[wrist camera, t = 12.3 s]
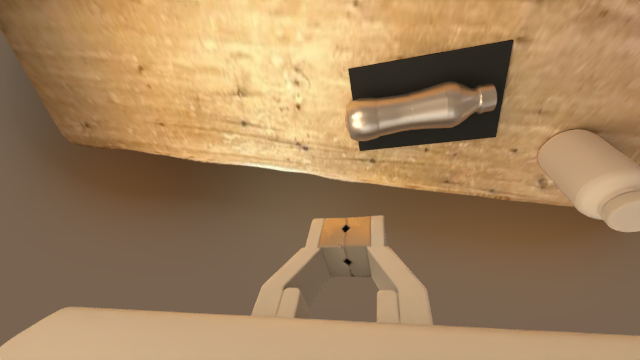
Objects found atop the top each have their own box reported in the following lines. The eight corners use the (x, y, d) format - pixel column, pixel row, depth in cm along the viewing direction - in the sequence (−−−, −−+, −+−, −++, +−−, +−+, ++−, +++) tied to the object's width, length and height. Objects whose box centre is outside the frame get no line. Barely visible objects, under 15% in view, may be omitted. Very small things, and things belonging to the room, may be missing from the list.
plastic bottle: (351, 139, 45) (482, 118, 40) (346, 147, 39) (501, 124, 34) (345, 100, 43) (482, 73, 38) (339, 102, 37) (502, 71, 32)
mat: (512, 39, 35) (513, 40, 35) (494, 135, 43) (495, 137, 42) (348, 68, 40) (348, 69, 40) (359, 149, 48) (359, 150, 48)
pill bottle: (524, 152, 44) (581, 216, 32) (579, 117, 39) (670, 176, 27) (552, 179, 46) (615, 249, 34) (607, 149, 41) (703, 216, 29)
